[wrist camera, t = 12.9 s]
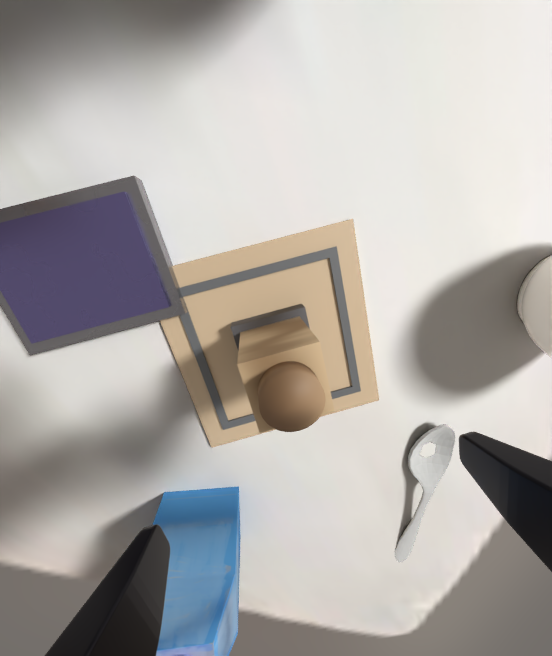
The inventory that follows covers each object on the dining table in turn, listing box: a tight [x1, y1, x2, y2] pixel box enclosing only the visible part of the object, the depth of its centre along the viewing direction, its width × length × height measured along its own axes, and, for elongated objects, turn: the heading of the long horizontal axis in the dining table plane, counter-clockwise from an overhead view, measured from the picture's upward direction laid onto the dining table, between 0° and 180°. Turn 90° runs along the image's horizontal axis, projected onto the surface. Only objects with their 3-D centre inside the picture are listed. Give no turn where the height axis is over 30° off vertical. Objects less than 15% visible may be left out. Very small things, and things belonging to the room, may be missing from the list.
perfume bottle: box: [153, 487, 240, 656], centre depth 17 cm, size 6×6×12 cm
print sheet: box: [160, 219, 379, 447], centre depth 18 cm, size 14×14×1 cm
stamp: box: [231, 304, 335, 433], centre depth 15 cm, size 5×5×7 cm
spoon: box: [395, 424, 455, 562], centre depth 25 cm, size 4×21×2 cm, turn 178°
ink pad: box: [0, 176, 188, 355], centre depth 15 cm, size 10×8×1 cm
